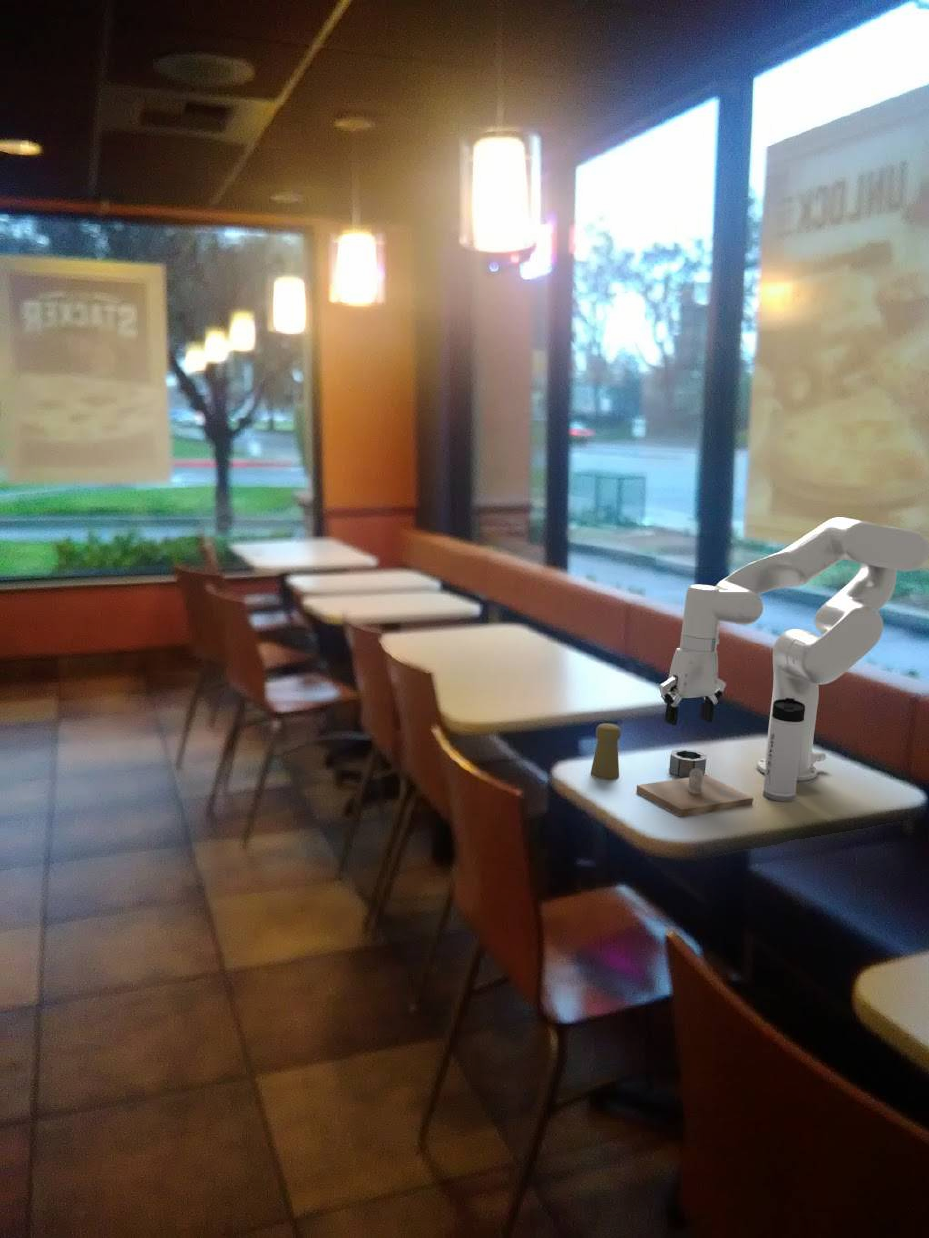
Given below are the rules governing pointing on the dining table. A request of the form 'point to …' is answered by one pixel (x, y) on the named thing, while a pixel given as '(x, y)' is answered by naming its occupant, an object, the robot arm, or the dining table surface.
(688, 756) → the steel ring
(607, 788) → the dining table surface
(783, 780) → the travel mug
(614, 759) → the cork
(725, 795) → the board
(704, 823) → the dining table surface
